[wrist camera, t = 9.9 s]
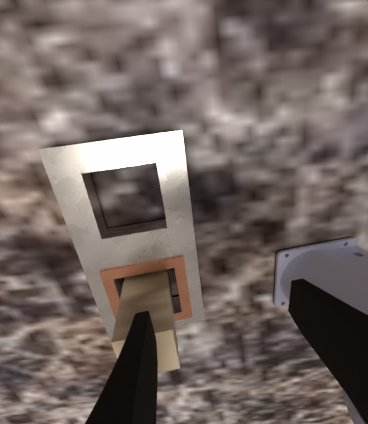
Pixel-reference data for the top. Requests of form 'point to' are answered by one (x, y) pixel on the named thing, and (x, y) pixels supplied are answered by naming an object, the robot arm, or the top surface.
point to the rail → (130, 234)
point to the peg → (159, 312)
